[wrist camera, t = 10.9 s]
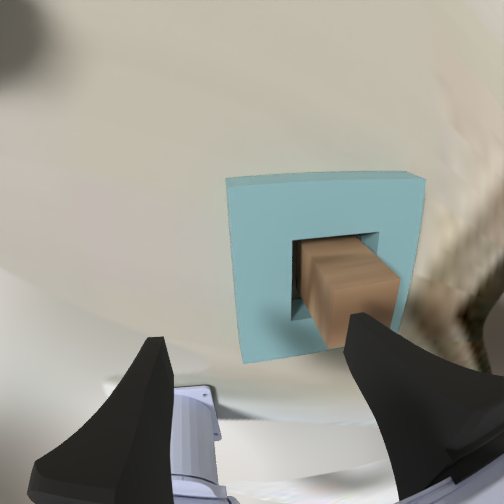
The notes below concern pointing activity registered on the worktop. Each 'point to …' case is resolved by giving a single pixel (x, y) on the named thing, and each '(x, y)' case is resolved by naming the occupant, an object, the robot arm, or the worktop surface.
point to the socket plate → (305, 227)
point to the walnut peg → (343, 284)
